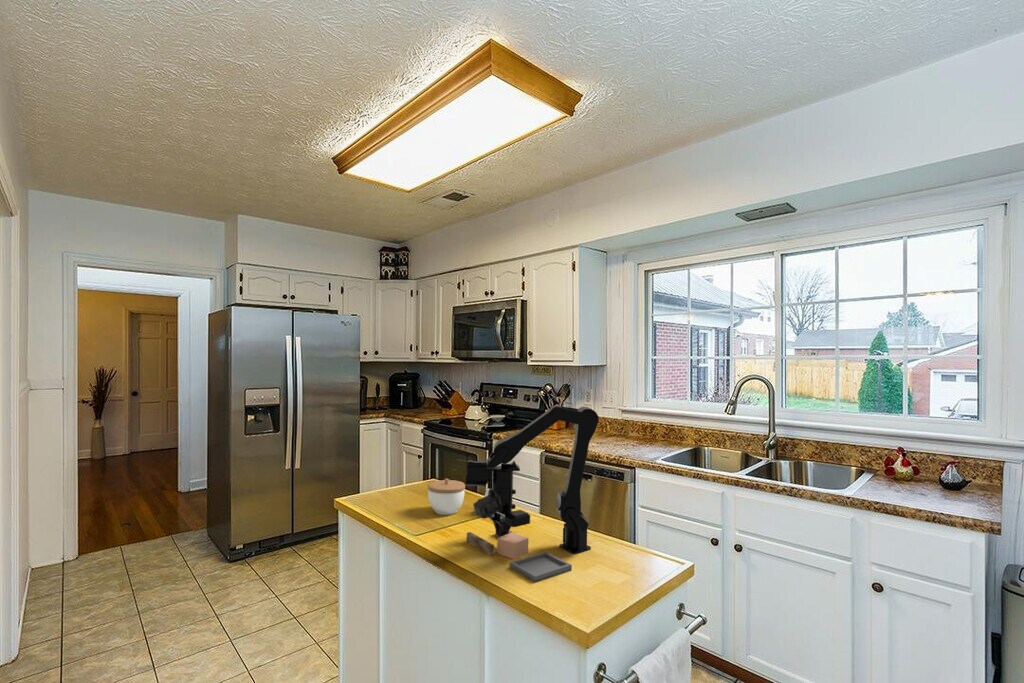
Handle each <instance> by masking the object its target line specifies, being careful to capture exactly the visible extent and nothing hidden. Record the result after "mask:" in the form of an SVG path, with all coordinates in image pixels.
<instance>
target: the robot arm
mask: <svg viewBox="0 0 1024 683" xmlns="http://www.w3.org/2000/svg"><path fill="white" fill-rule="evenodd" d="M559 421H560V422H561V421H562V422H565V423H568V424H573V425H574V441H573V447H572V452H571V456H570V457H571V458H570V462H569V468H568V473H567V477H566V484H565V487H564V489H563V490H560V489H558V490H557V498H556V500H555V505H556V506H555V507H556V508H557V511H558V514H559V517H560V518H561V520H562V521H563V528H562V543H560V544H559V547H560V548H562V549H563V550H566V551H568V552H571V553H572V554H579V553H583V552H585V551H588V550H591V548H592V546H590V545H588V528H589V522H588V520H587V519H586V516H585V515H584V513H583V512H582V501H581V500H582V499H581V498H582V497H581V487H582V481H583V479H584V478H583V477H584V471H585V468H586V461H587V456H588V451H589V446H590V442H591V440H592V438H593V436H594V434H595V433H596V429H597V427H598V424H599V421H600V420H599V415H598V413H597V412H596V410H594V409H592V408H590V407H588V406H581V407H579V408H575V407H568V406H560V405H558V404H554V405H552V406H550V408H549V409H547V411H545V412H544V413H542V414H541V415H540V416H538V417H537V418H535V419H534V420H532V421H531V422H530V423H529V424H527V425H525V426H524V427H523V428H521V429H519V431H517V432H515V433H512V434H510V435H507V436H505V437H503V438H501V439H499V440H497V441H496V442H495V443H494V445H493V449H492V453H491V454H490V455H489V456H488V458H487V459H486V461H482V460H479V461H478V460H468V461H467V466H466V469H467V470H466V474H465V487H469V486H470V487H486V486H487V485H489V483H491V471H492V488H488V489H489V491H488V496H486V497H484V496H483V497H484V498H483V497H481V498H479V499H477V501H475V502H474V503H473V509H474V512H475V516H477V517H480V518H481V519H484V520H485V519H487V518H488V519H489V520H490V521H491V522H492V523H493V525H494V529H495V534H496V533H497V535H496V536H497V538H498V537H501V536H504V535H507V534H508V532H509V530H510V529H511V528H517V527H522V526H525V525H530V524H531V515H530V513H529V512H528V511H527V512H526V511H524V510H523V509H516V504H514V503H513V495H517V492H516V491H517V490H516V489H514V472H520V471H521V468H520V465H518V464H517V463H516V461H515V460H513V459H514V458H516V456H517V455H519V453H520V451H522V450H523V449H524V448H525V446H526V445H527V444H528V443H530V442H531V441H532V440H534V439H535V438H537V437H538V436H539V435H541V434H543V432H545V431H547V429H550V427H553V425H554V424H556V423H557V422H559ZM511 461H512V462H511ZM510 462H511V463H510ZM515 509H516V510H515ZM510 531H511V530H510Z"/></svg>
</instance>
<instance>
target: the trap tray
mask: <svg viewBox="0 0 1024 683" xmlns="http://www.w3.org/2000/svg"><path fill="white" fill-rule="evenodd" d="M509 568H510V569H511V570H512V571H514V572H517V574H520V575H522V576H523V577H525V578H527V579H528V580H530V581H532V582H533V583H538V582H541V581H544V580H547V579H549V578H552V577H555V576H556V577H557V576H559V575H561V574H564V573H565V574H566V573H569V572H570V571H572V568H573V567H572V564H571V563H569V562H567V561H565V560H563V559H561V558H559V557H558V556H555V555H553V554H552V553H549V552H547V551H543V552H540V553H537V554H532V555H530V556H527V557H526V556H525V557H523V558H519V559H516V560H513V561H510V562H509Z"/></svg>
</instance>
